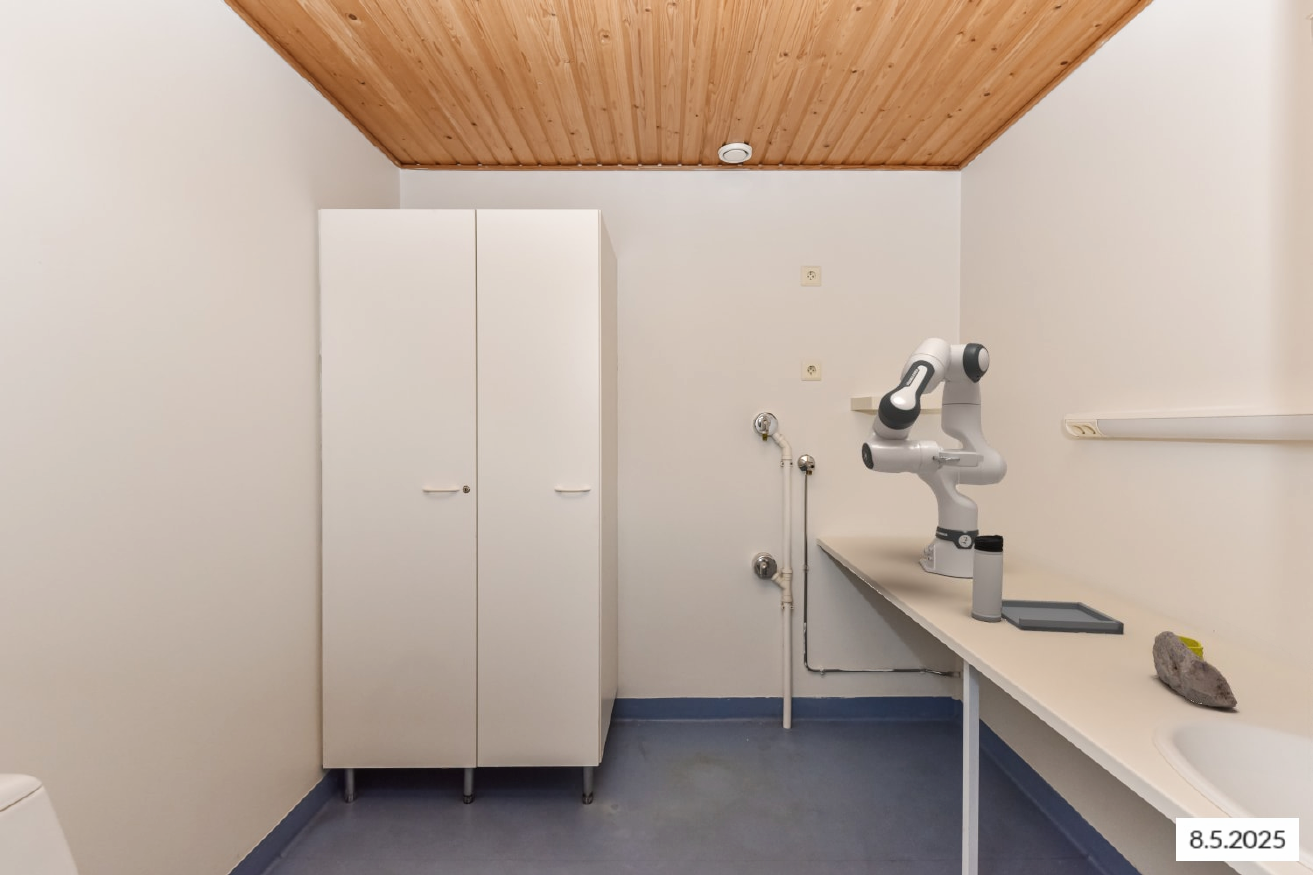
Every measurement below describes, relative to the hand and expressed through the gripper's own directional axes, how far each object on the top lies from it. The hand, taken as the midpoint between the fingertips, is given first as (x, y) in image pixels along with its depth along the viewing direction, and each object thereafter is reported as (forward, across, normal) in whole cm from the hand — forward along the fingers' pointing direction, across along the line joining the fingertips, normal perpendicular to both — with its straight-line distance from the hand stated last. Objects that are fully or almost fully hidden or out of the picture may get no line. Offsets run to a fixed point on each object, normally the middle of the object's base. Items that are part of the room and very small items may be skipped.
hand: (981, 458), depth 159 cm
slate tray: (+12, -14, +38) cm, 42 cm away
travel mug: (-3, -14, +38) cm, 41 cm away
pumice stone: (+14, -52, +38) cm, 66 cm away
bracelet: (+26, -34, +38) cm, 57 cm away
